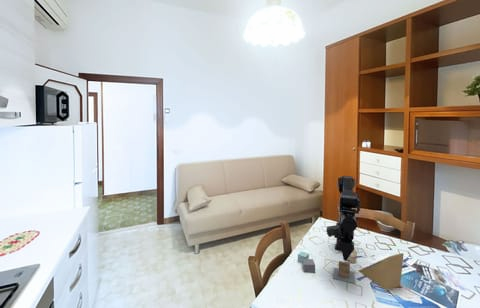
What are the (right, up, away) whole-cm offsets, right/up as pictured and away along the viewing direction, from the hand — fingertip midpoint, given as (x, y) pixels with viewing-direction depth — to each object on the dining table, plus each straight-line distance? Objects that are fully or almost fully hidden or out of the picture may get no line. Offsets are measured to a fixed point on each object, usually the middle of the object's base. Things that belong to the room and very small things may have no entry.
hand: (345, 255), depth 112 cm
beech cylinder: (+9, -8, +14) cm, 18 cm away
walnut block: (0, -9, +1) cm, 9 cm away
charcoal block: (-15, -9, +6) cm, 18 cm away
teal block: (-16, -8, +13) cm, 22 cm away
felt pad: (0, -10, +1) cm, 10 cm away
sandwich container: (+15, -10, 0) cm, 18 cm away
